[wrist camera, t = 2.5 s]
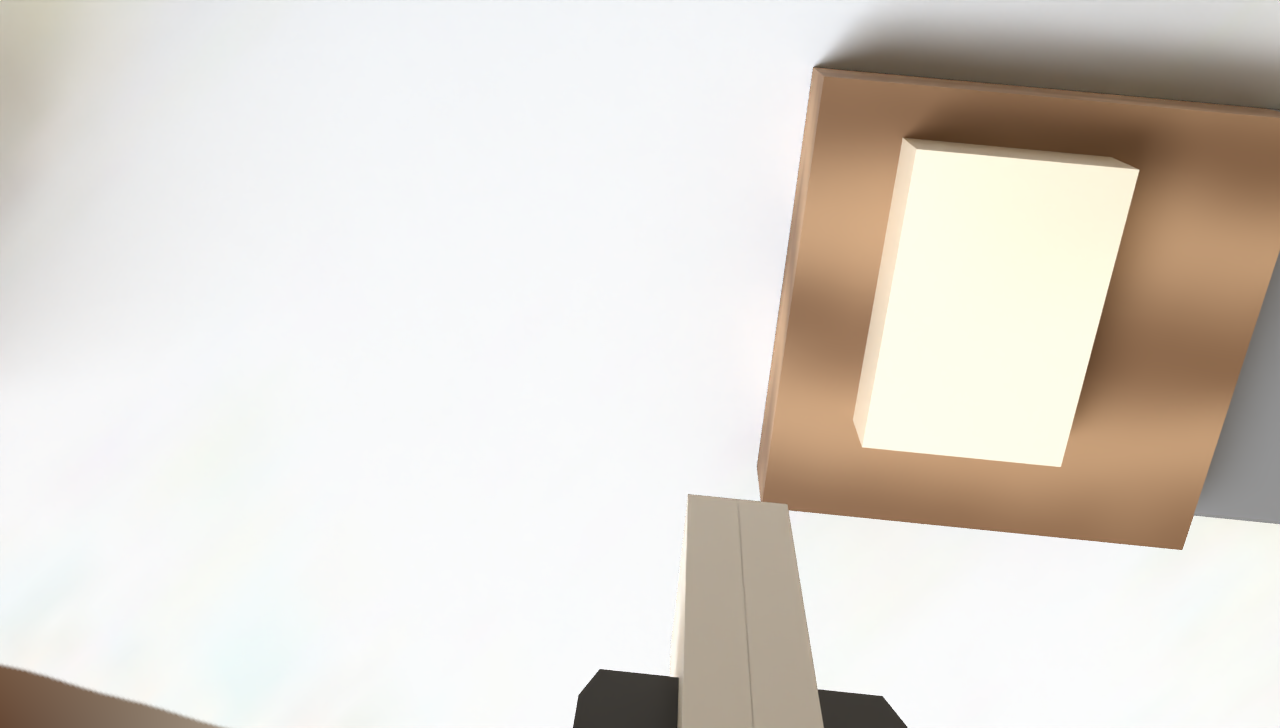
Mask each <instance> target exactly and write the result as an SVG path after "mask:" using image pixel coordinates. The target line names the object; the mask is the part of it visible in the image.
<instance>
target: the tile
mask: <svg viewBox="0 0 1280 728" xmlns="http://www.w3.org/2000/svg"><path fill="white" fill-rule="evenodd" d="M1138 173H1139V169H1137V168H1134V167H1132V166H1130V165H1128V164H1126V163H1123V162H1121V161H1119V160H1117V159H1114V158H1112V157H1105V156H1094V155H1083V154H1072V153H1062V152H1051V151H1040V150H1029V149H1018V148H1008V147H997V146H986V145H975V144H964V143H954V142H943V141H932V140H921V139H911V138H903V139H902V145H901V150H900V156H899V162H898V167H897V173H896V179H895V184H894V190H893V196H892V201H891V207H890V213H889V218H888V224H887V230H886V235H885V241H884V247H883V252H882V258H881V264H880V269H879V275H878V281H877V286H876V292H875V298H874V303H873V309H872V315H871V320H870V326H869V332H868V337H867V343H866V349H865V354H864V360H863V365H862V371H861V377H860V382H859V388H858V394H857V399H856V405H855V411H854V416H853V422H854V425H855V428H856V431H857V434H858V437H859V440H860V443H861V445H862V447H864V448H874V449H884V450H894V451H904V452H914V453H924V454H934V455H944V456H954V457H964V458H974V459H984V460H994V461H1005V462H1015V463H1025V464H1035V465H1045V466H1055V467H1061V464H1062V461H1063V457H1064V453H1065V449H1066V445H1067V442H1068V438H1069V434H1070V430H1071V427H1072V423H1073V419H1074V415H1075V411H1076V408H1077V404H1078V400H1079V396H1080V393H1081V389H1082V385H1083V381H1084V377H1085V374H1086V370H1087V366H1088V362H1089V359H1090V355H1091V351H1092V347H1093V343H1094V340H1095V336H1096V332H1097V328H1098V325H1099V321H1100V317H1101V313H1102V309H1103V306H1104V302H1105V298H1106V294H1107V291H1108V287H1109V283H1110V279H1111V275H1112V272H1113V268H1114V264H1115V260H1116V257H1117V253H1118V249H1119V245H1120V241H1121V238H1122V234H1123V230H1124V226H1125V223H1126V219H1127V215H1128V211H1129V207H1130V204H1131V200H1132V196H1133V192H1134V189H1135V185H1136V181H1137V177H1138Z"/></svg>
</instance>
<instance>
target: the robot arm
mask: <svg viewBox="0 0 1280 728" xmlns="http://www.w3.org/2000/svg"><path fill="white" fill-rule="evenodd" d="M573 728H907V726H906V725H905V724H904V722H903V721H902V720H901V719H900V717H899V716H898V715H897V714H896V712H895V711H894V710H893V709H892V707H891V706H890V705H889V704H888V702H887V701H886V700H885V699H884V698H883V696H875V695H866V694H856V693H847V692H837V691H828V690H818V689H817V683H816V677H815V671H814V665H813V658H812V652H811V646H810V640H809V634H808V628H807V622H806V616H805V609H804V603H803V597H802V591H801V585H800V579H799V573H798V566H797V560H796V554H795V548H794V542H793V536H792V530H791V523H790V517H789V511H788V505H787V504H780V503H770V502H760V501H751V500H741V499H731V498H721V497H711V496H701V495H691V494H688V499H687V508H686V516H685V525H684V534H683V543H682V552H681V560H680V569H679V578H678V587H677V595H676V604H675V613H674V622H673V631H672V639H671V654H670V676H660V675H650V674H641V673H631V672H622V671H612V670H603V669H600V670H599V671H598V672H597V673H596V675H595V676H594V677H593V678H592V679H591V681H590V682H589V683H588V684H587V685H586V687H585V688H584V689H583V690H582V692H581V693H580V694H579V696H578V702H577V708H576V714H575V719H574V725H573Z"/></svg>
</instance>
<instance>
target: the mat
mask: <svg viewBox="0 0 1280 728" xmlns="http://www.w3.org/2000/svg"><path fill="white" fill-rule="evenodd" d="M1270 110H1274V111H1278V112H1280V110H1277V109H1270ZM1194 515H1195V516H1205V517H1215V518H1225V519H1235V520H1245V521H1255V522H1265V523H1275V524H1280V251H1279V254H1278V257H1277V260H1276V263H1275V266H1274V269H1273V273H1272V276H1271V279H1270V282H1269V285H1268V288H1267V291H1266V294H1265V297H1264V300H1263V303H1262V306H1261V309H1260V313H1259V316H1258V319H1257V322H1256V325H1255V328H1254V331H1253V334H1252V337H1251V340H1250V343H1249V346H1248V349H1247V353H1246V356H1245V359H1244V362H1243V365H1242V368H1241V371H1240V374H1239V377H1238V380H1237V383H1236V386H1235V389H1234V393H1233V396H1232V399H1231V402H1230V405H1229V408H1228V411H1227V414H1226V417H1225V420H1224V423H1223V426H1222V429H1221V432H1220V436H1219V439H1218V442H1217V445H1216V448H1215V451H1214V454H1213V457H1212V460H1211V463H1210V466H1209V469H1208V472H1207V476H1206V479H1205V482H1204V485H1203V488H1202V491H1201V494H1200V497H1199V500H1198V503H1197V506H1196V509H1195V512H1194Z"/></svg>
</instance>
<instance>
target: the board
mask: <svg viewBox="0 0 1280 728" xmlns="http://www.w3.org/2000/svg"><path fill="white" fill-rule="evenodd" d="M903 138H911V139H921V140H932V141H943V142H954V143H964V144H975V145H986V146H997V147H1008V148H1018V149H1029V150H1040V151H1051V152H1062V153H1072V154H1083V155H1094V156H1105V157H1112V158H1114V159H1117V160H1119V161H1121V162H1123V163H1126V164H1128V165H1130V166H1132V167H1134V168H1137V169H1139V173H1138V177H1137V181H1136V185H1135V189H1134V192H1133V196H1132V200H1131V204H1130V207H1129V211H1128V215H1127V219H1126V223H1125V226H1124V230H1123V234H1122V238H1121V241H1120V245H1119V249H1118V253H1117V257H1116V260H1115V264H1114V268H1113V272H1112V275H1111V279H1110V283H1109V287H1108V291H1107V294H1106V298H1105V302H1104V306H1103V309H1102V313H1101V317H1100V321H1099V325H1098V328H1097V332H1096V336H1095V340H1094V343H1093V347H1092V351H1091V355H1090V359H1089V362H1088V366H1087V370H1086V374H1085V377H1084V381H1083V385H1082V389H1081V393H1080V396H1079V400H1078V404H1077V408H1076V411H1075V415H1074V419H1073V423H1072V427H1071V430H1070V434H1069V438H1068V442H1067V445H1066V449H1065V453H1064V457H1063V461H1062V464H1061V467H1055V466H1045V465H1035V464H1025V463H1015V462H1005V461H994V460H984V459H974V458H964V457H954V456H944V455H934V454H924V453H914V452H904V451H894V450H884V449H874V448H864V447H862V445H861V443H860V440H859V437H858V434H857V431H856V428H855V425H854V422H853V416H854V411H855V405H856V399H857V394H858V388H859V382H860V377H861V371H862V365H863V360H864V354H865V349H866V343H867V337H868V332H869V326H870V320H871V315H872V309H873V303H874V298H875V292H876V286H877V281H878V275H879V269H880V264H881V258H882V252H883V247H884V241H885V235H886V230H887V224H888V218H889V213H890V207H891V201H892V196H893V190H894V184H895V179H896V173H897V167H898V162H899V156H900V150H901V145H902V139H903ZM1279 251H1280V112H1278V111H1274V110H1270V109H1266V108H1255V107H1244V106H1233V105H1222V104H1211V103H1200V102H1190V101H1179V100H1168V99H1157V98H1146V97H1135V96H1124V95H1113V94H1102V93H1091V92H1080V91H1069V90H1058V89H1047V88H1036V87H1025V86H1014V85H1003V84H993V83H982V82H971V81H960V80H949V79H938V78H927V77H916V76H905V75H894V74H883V73H872V72H861V71H850V70H839V69H828V68H817V67H813V72H812V79H811V86H810V93H809V100H808V107H807V114H806V121H805V128H804V136H803V143H802V150H801V157H800V164H799V171H798V178H797V185H796V192H795V199H794V207H793V214H792V221H791V228H790V235H789V242H788V249H787V256H786V263H785V270H784V278H783V285H782V292H781V299H780V306H779V313H778V320H777V327H776V334H775V341H774V349H773V356H772V363H771V370H770V377H769V384H768V391H767V398H766V405H765V412H764V420H763V427H762V434H761V441H760V448H759V455H758V462H757V472H758V481H759V490H760V498H761V502H770V503H780V504H787V505H788V510H792V511H802V512H812V513H822V514H831V515H841V516H851V517H861V518H871V519H881V520H891V521H901V522H911V523H921V524H930V525H940V526H950V527H960V528H970V529H980V530H990V531H1000V532H1010V533H1019V534H1029V535H1039V536H1049V537H1059V538H1069V539H1079V540H1089V541H1099V542H1109V543H1118V544H1128V545H1138V546H1148V547H1158V548H1168V549H1178V550H1182V549H1183V546H1184V543H1185V540H1186V537H1187V534H1188V531H1189V528H1190V525H1191V522H1192V519H1193V516H1194V512H1195V509H1196V506H1197V503H1198V500H1199V497H1200V494H1201V491H1202V488H1203V485H1204V482H1205V479H1206V476H1207V472H1208V469H1209V466H1210V463H1211V460H1212V457H1213V454H1214V451H1215V448H1216V445H1217V442H1218V439H1219V436H1220V432H1221V429H1222V426H1223V423H1224V420H1225V417H1226V414H1227V411H1228V408H1229V405H1230V402H1231V399H1232V396H1233V393H1234V389H1235V386H1236V383H1237V380H1238V377H1239V374H1240V371H1241V368H1242V365H1243V362H1244V359H1245V356H1246V353H1247V349H1248V346H1249V343H1250V340H1251V337H1252V334H1253V331H1254V328H1255V325H1256V322H1257V319H1258V316H1259V313H1260V309H1261V306H1262V303H1263V300H1264V297H1265V294H1266V291H1267V288H1268V285H1269V282H1270V279H1271V276H1272V273H1273V269H1274V266H1275V263H1276V260H1277V257H1278V254H1279Z"/></svg>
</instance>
